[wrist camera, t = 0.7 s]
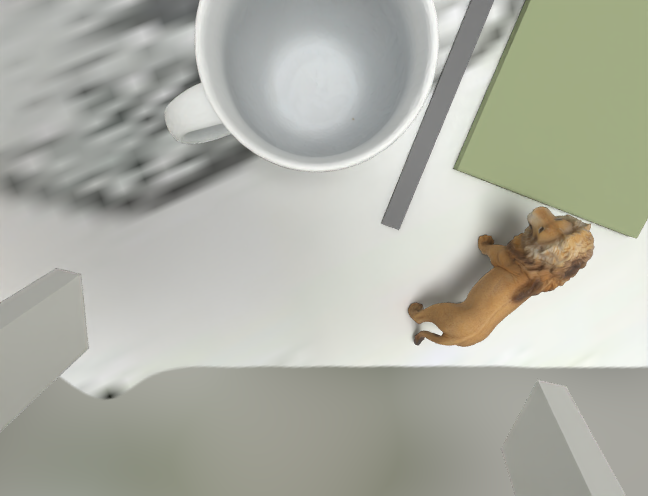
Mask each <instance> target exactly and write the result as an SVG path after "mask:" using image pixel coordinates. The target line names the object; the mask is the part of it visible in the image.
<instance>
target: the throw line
mask: <svg viewBox="0 0 648 496" xmlns="http://www.w3.org/2000/svg"><path fill="white" fill-rule="evenodd" d="M493 2H494V0H471V2H470V4H469V7H468V9H467V12H466V14H465V16H464V19H463V21H462V24H461V26H460V29H459V31H458V34H457V36H456V39H455V41H454V44H453V46H452V49H451V51H450V54H449V56H448V59H447V61H446V64H445V66H444V69H443V71H442V74H441V76H440V79H439V81H438V84H437V86H436V89H435V91H434V93H433V96H432V98H431V101H430V103H429V106H428V108H427V111H426V113H425V116H424V118H423V121H422V123H421V126H420V128H419V131H418V133H417V136H416V138H415V141H414V143H413V146H412V148H411V151H410V153H409V156H408V158H407V161H406V163H405V166H404V168H403V170H402V173H401V175H400V178H399V180H398V183H397V185H396V188H395V190H394V193H393V195H392V198H391V200H390V203H389V205H388V208H387V210H386V213H385V215H384V218H383V220H382V224H384V225H387V226H389V227H392V228H395V229H398V230H399V229H400V226H401V224H402V222H403V219H404V217H405V214H406V212H407V209H408V207H409V205H410V202H411V200H412V197H413V195H414V193H415V190H416V188H417V185H418V183H419V180H420V178H421V176H422V173H423V171H424V168H425V166H426V164H427V161H428V159H429V156H430V154H431V152H432V149H433V147H434V144H435V142H436V139H437V137H438V135H439V132H440V130H441V127H442V125H443V123H444V120H445V118H446V115H447V113H448V110H449V108H450V106H451V103H452V101H453V98H454V96H455V94H456V91H457V89H458V86H459V84H460V81H461V79H462V77H463V74H464V72H465V69H466V67H467V65H468V62H469V60H470V57H471V55H472V52H473V50H474V48H475V45H476V43H477V40H478V38H479V36H480V33H481V31H482V28H483V26H484V23H485V21H486V19H487V16H488V14H489V11H490V9H491V7H492V4H493Z"/></svg>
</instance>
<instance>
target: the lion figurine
mask: <svg viewBox="0 0 648 496" xmlns="http://www.w3.org/2000/svg"><path fill="white" fill-rule="evenodd" d="M527 219H528V222H529V226H528V227H527V228H526V229H525V232H524V233H521V234H519V235H518V236H515V237H514V239H513V240H511V241H510V242H509V243H508V244H507V246H504V245H496V244H494V240H493V239H492V237H491V236H488V235H483V236H480V237H479V240H478V247H479V249H480V250H481V252H482V254H484V255H487V256H489V258H490V260H491V264H492V265H493V266H494V268H493V269H491V270H490V271H489V272H488V273H486V274H485V275H484V276H483V277H482V278H481V279H480V280H479V281H478V282H477V283H476V284H475V285H474V287H473V288H472V289H471V290H470V292H469V293H468V295H467V298H466V300H465V301H464V302H462V303H458V304H455V303H438V304H434V305H432V306H430V307H428V308H426V309H424V310H423V306H422V304H419V303H413V304H411V305H410V307H409V309H408V312H409V315H410V317H411V318H412V319H413V320H414V321H415V322H416V323H418V324H421V323H422V322H432V323H434V324H435V325H436V326H437V327H438V328H439V329H440V330H441V331H442V332H443V334H442V336H440V335H437V334H435V333H431V332H429V331H421V332H420V333H418V334H417V335H415V339H414V344H415V345H419V344H420V343H421V342H422V340H424V338H425V337H426V338H427V339H429V340H431V341H433V342H435V343H438V344H442V345H457V346H462V347H466V346H471V345H474V344H476V343H478V342H481V341H482V340H484V339H485V338H487V337H488V335H489V334H490V333H491V332H492V331H493V329H494V328H495V327H496V326H497V325H498V324H499V323H500V322H501V321H502V320H503V319H504V318H505V317H506V316H508V315H509V314H510V313H511V312H513V311H514V310H515V309H516V308H518V307H519V306H520V305H521V304H522V303H523V302H525V301H526V300H527V299H528V298H530V297H531V296H534V295H538V294H540V293H541V292H547V291H552V290H554V289H555V288H556V287H558V286H563V284H564V283H565V282H566V281H568V280H570V278H571V277H574V276H575V275H576V274H577V272H578V270H579V269H582V268H584V267H585V266H586V262H587V261H588V260H589V259H590V258H591V257H592V255H593V249H594V245H593V243H594V238H593V236H592V234H591V232H589V230H590V228H591V224H587V223H583V222H582V221H581V220H578V219H577V218H574V217H572V216H570V215H565V216H556V217H555V216H554V215H553V214H552V213H551V211H550V210H549V209H548V208H546V207H537V208H535V209H534V210H533V211H532V212H531V213H529V214H528V217H527ZM493 244H494V245H493Z"/></svg>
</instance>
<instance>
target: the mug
mask: <svg viewBox="0 0 648 496" xmlns="http://www.w3.org/2000/svg"><path fill="white" fill-rule="evenodd" d="M438 53H439V31H438V20H437V14H436V9H435V5H434V1H433V0H200V2H199V6H198V10H197V16H196V22H195V56H196V62H197V67H198V72H199V76H200V80H201V83H199V84H197V85H195V86H193V87H191V88H189V89H187V90H186V91H184V92H183V93H181V94H180V95H179V96H177V97H176V98H175V99H174V100H172V101H171V102H170V103H169V104H168V106H167V107H166V109H165V122H166V125H167V128H168V130H169V132H170V134H171V135H172V137H173V138H174V139H175V140H176V141H178V142H181V143H185V144H198V143H205V142H209V141H213V140H216V139H219V138H222V137H225V136H227V135H230V134H232V135H233V136H234V137H235V138H236V139H237V140H238V141H239V142H240V143H241V144H243V145H244V146H245V147H246V148H248V149H249V150H250V151H252V152H253V153H255V154H256V155H258V156H260V157H262V158H263V159H265V160H267V161H269V162H272V163H274V164H276V165H279V166H282V167H285V168H289V169H293V170H298V171H306V172H328V171H335V170H340V169H345V168H348V167H352V166H355V165H357V164H360V163H362V162H364V161H367V160H369V159H370V158H372V157H374V156H376V155H377V154H379V153H380V152H382V151H384V150H385V149H386V148H388V147H389V146H390V145H392V144H393V143H394V142H395V141H396V140H397V139H398V138H399V137H400V136H401V135H402V134H403V133H404V132H405V131H406V130H407V128H408V127H409V126H410V125H411V123H412V122H413V121H414V119H415V118H416V117H417V115H418V113H419V112H420V110H421V108H422V107H423V105H424V103H425V101H426V98H427V96H428V94H429V91H430V89H431V86H432V83H433V80H434V75H435V71H436V66H437V60H438Z"/></svg>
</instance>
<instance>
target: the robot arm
mask: <svg viewBox="0 0 648 496" xmlns="http://www.w3.org/2000/svg"><path fill="white" fill-rule="evenodd" d="M87 349H89V347H88V337H87V327H86V318H85V308H84V298H83V289H82V279H81V274H79V273H75V272H70V271H66V270H62V269H57V268H56V269H54V270H52V271H51V272H49V273H48V274H46V275H44V276H43V277H41V278H40V279H38V280H36V281H35V282H33V283H31V284H30V285H28V286H27V287H25V288H23V289H22V290H20V291H18V292H17V293H15V294H14V295H12V296H10V297H9V298H7V299H5V300H4V301H2V302H1V303H0V432H1V431H2V430H3V429H4V428H5V427H6V426H7V425H9V424H10V423H11V422H12V421H13V420H14V419H15V418H16V417H17V416H18V415H19V414H20V413H21V412H22V411H23V410H24V409H25V408H26V407H28V405H30V404H31V403H32V402H33V401H34V400H35V399H36V398H37V397H38V396H39V395H40V394H41V393H42V392H43V391H44V390H45V389H46V388H47V387H49V386H50V385H51V384H52V383H53V382H54V381H55V380H56V379H57V378H58V377H59V376H60V375H61V374H62V373H63V372H64V371H65V370H66V369H67V368H69V367H70V366H71V365H72V364H73V363H74V362H75V361H76V360H77V359H78V358H79V357H80V356H81V355H82V354H83V353H84V352H85V351H86V350H87ZM501 450H502V453H503V457H504V460H505V464H506V467H507V470H508V474H509V477H510V481H511V484H512V488H513V491H514V494H515V496H626V495H625V493H624V491H623V489H622V488H621V486H620V484H619V482H618V480H617V478H616V477H615V475H614V473H613V471H612V469H611V467H610V466H609V464H608V462H607V460H606V458H605V456H604V455H603V453H602V451H601V449H600V447H599V445H598V444H597V442H596V440H595V438H594V436H593V435H592V433H591V431H590V429H589V427H588V426H587V424H586V422H585V420H584V418H583V416H582V414H581V413H580V411H579V409H578V407H577V405H576V404H575V402H574V400H573V398H572V396H571V394H570V393H569V391H568V389H567V387H566V386H563V385H558V384H554V383H550V382H545V381H541V380H537V382H536V384H535V385H534V387H533V389H532V391H531V393H530V395H529V397H528V399H527V400H526V402H525V404H524V406H523V408H522V410H521V412H520V414H519V415H518V418H517V419H516V421H515V423H514V425H513V427H512V429H511V431H510V432H509V434H508V436H507V438H506V440H505V442H504V444H503V446H502V448H501Z"/></svg>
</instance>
